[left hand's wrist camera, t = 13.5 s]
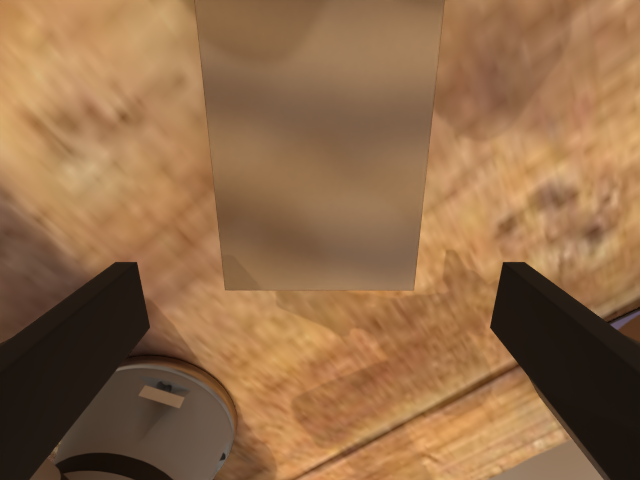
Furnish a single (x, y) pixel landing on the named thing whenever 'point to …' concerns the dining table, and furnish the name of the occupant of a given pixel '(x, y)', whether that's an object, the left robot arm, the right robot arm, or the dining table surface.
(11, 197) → the dining table surface
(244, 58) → the brown rectangular block
